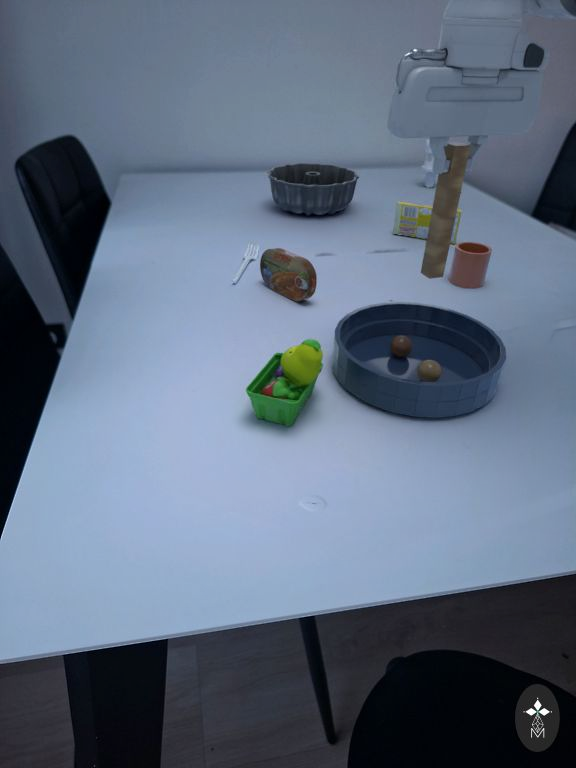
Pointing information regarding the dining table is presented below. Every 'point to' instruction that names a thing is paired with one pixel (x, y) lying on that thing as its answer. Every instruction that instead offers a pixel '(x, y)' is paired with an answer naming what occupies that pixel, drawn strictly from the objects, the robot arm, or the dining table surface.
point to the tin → (288, 274)
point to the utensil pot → (469, 264)
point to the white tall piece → (429, 165)
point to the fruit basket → (286, 383)
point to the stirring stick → (444, 211)
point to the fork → (246, 261)
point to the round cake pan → (417, 359)
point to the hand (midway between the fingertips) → (452, 172)
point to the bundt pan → (312, 187)
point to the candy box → (418, 220)
